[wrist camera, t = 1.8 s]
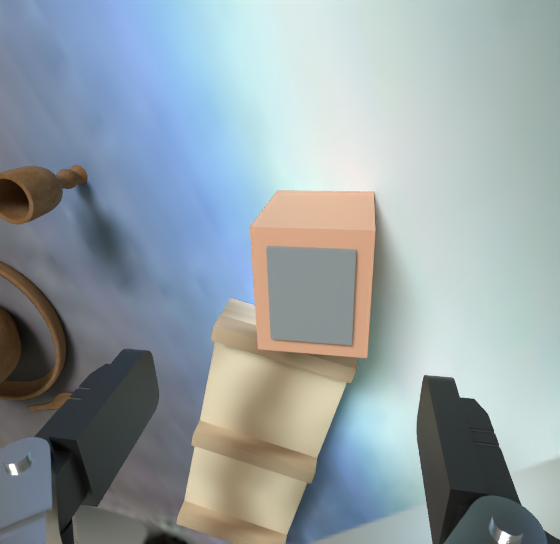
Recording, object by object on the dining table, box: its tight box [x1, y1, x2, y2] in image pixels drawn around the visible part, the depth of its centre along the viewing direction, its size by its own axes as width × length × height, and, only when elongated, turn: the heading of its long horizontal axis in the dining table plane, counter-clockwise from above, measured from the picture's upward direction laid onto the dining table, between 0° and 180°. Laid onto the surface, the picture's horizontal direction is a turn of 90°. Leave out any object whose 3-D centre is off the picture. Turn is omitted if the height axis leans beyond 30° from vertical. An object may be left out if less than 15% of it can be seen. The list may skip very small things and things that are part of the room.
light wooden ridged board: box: [177, 298, 357, 544], centre depth 28 cm, size 8×18×3 cm, turn 167°
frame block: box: [250, 190, 376, 358], centre depth 21 cm, size 5×6×6 cm
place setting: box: [0, 165, 87, 412], centre depth 27 cm, size 18×20×6 cm
